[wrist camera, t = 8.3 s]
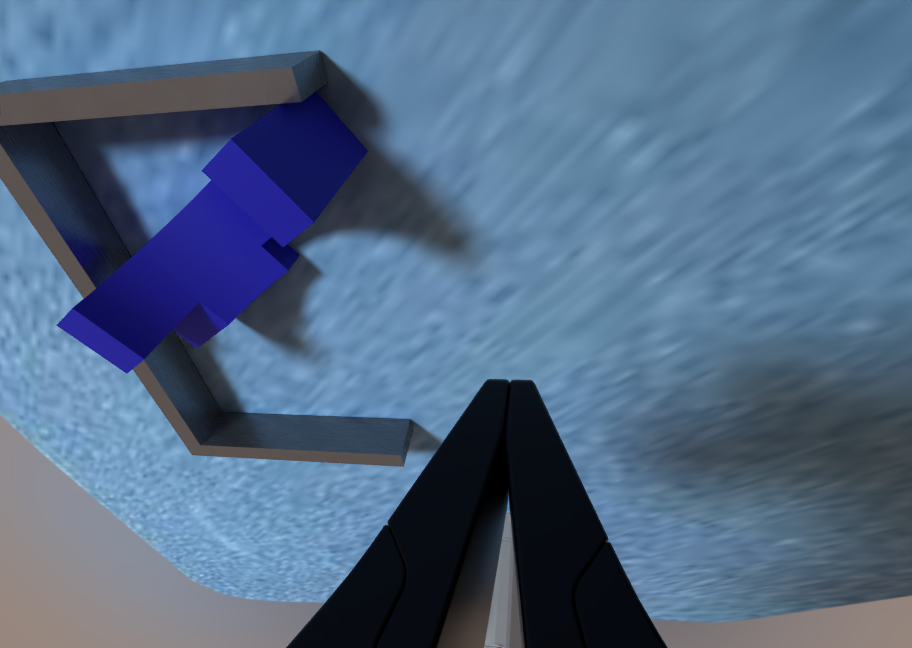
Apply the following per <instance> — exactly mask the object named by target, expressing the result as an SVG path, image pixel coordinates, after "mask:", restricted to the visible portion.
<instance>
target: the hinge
mask: <svg viewBox="0 0 912 648" xmlns="http://www.w3.org/2000/svg"><path fill="white" fill-rule="evenodd" d="M484 648H522V645H521V633H520V621H519V610H518V598H517V587H516V575H515V563H514V552H513V540H512V529H511V517H510V514H509V513H506V518H505V524H504V530H503V536H502V542H501V548H500V554H499V560H498V566H497V572H496V578H495V584H494V590H493V597H492V603H491V609H490V615H489V621H488V627H487V633H486V639H485V645H484Z"/></svg>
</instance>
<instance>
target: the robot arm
mask: <svg viewBox="0 0 912 648" xmlns="http://www.w3.org/2000/svg"><path fill="white" fill-rule="evenodd" d="M508 495H509V504H510V517H511V529H512V540H513V552H514V563H515V575H516V587H517V598H518V610H519V621H520V633H521V645H522V648H667V646H666V644H665V643H664V641H663V640H662V638H661V636H660V635H659V633H658V631H657V629H656V628H655V626H654V624H653V623H652V621H651V619H650V617H649V616H648V614H647V612H646V611H645V609H644V607H643V605H642V604H641V602H640V600H639V599H638V597H637V595H636V593H635V591H634V589H633V587H632V585H631V583H630V581H629V579H628V577H627V575H626V573H625V571H624V569H623V567H622V565H621V563H620V561H619V559H618V557H617V555H616V553H615V551H614V549H613V547H612V545H611V543H610V542H608V537H607V535H606V532H605V530H604V528H603V526H602V524H601V522H600V520H599V518H598V516H597V514H596V511H595V509H594V507H593V505H592V503H591V501H590V499H589V497H588V495H587V492H586V490H585V488H584V486H583V484H582V482H581V480H580V478H579V476H578V474H577V471H576V469H575V467H574V465H573V463H572V461H571V459H570V457H569V455H568V453H567V450H566V448H565V446H564V444H563V442H562V440H561V438H560V436H559V434H558V431H557V429H556V427H555V425H554V423H553V421H552V419H551V417H550V415H549V413H548V410H547V408H546V406H545V404H544V402H543V400H542V398H541V396H540V394H539V392H538V389H537V387H536V385H535V383H534V382H533V381H532V380H512V381H511V382H509V381H508V380H506V379H489V380H487V381H486V382H485V383H484V384H483V386H482V387H481V388H480V390H479V391H478V393H477V394H476V396H475V397H474V399H473V400H472V401H471V403H470V404H469V406H468V407H467V409H466V410H465V411H464V413H463V414H462V416H461V417H460V419H459V420H458V421H457V423H456V424H455V426H454V427H453V429H452V430H451V431H450V433H449V434H448V436H447V437H446V439H445V440H444V441H443V443H442V444H441V446H440V447H439V449H438V450H437V451H436V453H435V454H434V456H433V457H432V459H431V460H430V461H429V463H428V464H427V466H426V467H425V469H424V470H423V471H422V473H421V474H420V476H419V477H418V479H417V480H416V481H415V483H414V484H413V486H412V487H411V489H410V490H409V492H408V493H407V494H406V496H405V497H404V499H403V500H402V502H401V503H400V504H399V506H398V507H397V509H396V510H395V512H394V513H393V514H392V516H391V517H390V519H389V520H388V525H385V526H384V527H383V528H382V530H381V531H380V533H379V534H378V536H377V537H376V538H375V540H374V541H373V543H372V544H371V546H370V547H369V548H368V550H367V551H366V552H365V554H364V555H363V556H362V558H361V559H360V560H359V562H358V563H357V564H356V566H355V567H354V568H353V570H352V571H351V572H350V574H349V575H348V576H347V577H346V578H345V580H344V581H343V582H342V583H341V584H340V586H339V587H338V588H337V589H336V590H335V592H334V593H333V594H332V595H331V596H330V598H329V599H328V600H327V601H326V602H325V604H324V605H323V606H322V607H321V608H320V609H319V611H318V612H317V613H316V614H315V615H314V616H313V617H312V618H311V620H310V621H309V622H308V623H307V624H306V625H305V627H304V628H303V629H302V630H301V631H300V632H299V634H298V635H297V636H296V637H295V638H294V639H293V640H292V642H291V643H290V644H289V645H288V646H287V647H286V648H484V645H485V639H486V633H487V627H488V621H489V615H490V609H491V603H492V597H493V590H494V584H495V578H496V572H497V566H498V560H499V554H500V548H501V542H502V536H503V530H504V524H505V518H506V512H507V504H508Z"/></svg>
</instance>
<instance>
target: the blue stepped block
mask: <svg viewBox="0 0 912 648" xmlns="http://www.w3.org/2000/svg"><path fill="white" fill-rule="evenodd" d="M367 152H368V151H367V150H366V149H365V147H364V146H363V145H362V144H361V143H360V142H359V140H358V139H357V138H356V137H355V136H354V135H353V134H352V132H351V131H350V130H349V129H348V128H347V127H346V125H345V124H344V123H343V122H342V121H341V120H340V118H339V117H338V116H337V115H336V114H335V113H334V111H333V110H332V109H331V108H330V107H329V106H328V105H327V103H326V102H325V101H324V100H323V99H322V98H321V96H320V95H319V94H318V93H317V92H316V91H315V92H314V93H313V94H311V95H310V96H309V97H307V98H306V99H305V100H303V101H302V102H295V103H282V104H280V105H279V106H277V107H276V108H274V109H273V110H271V111H270V112H269V113H267V114H266V115H264V116H263V117H262V118H260V119H259V120H257V121H256V122H255V123H253V124H252V125H250V126H249V127H247V128H246V129H245V130H243V131H242V132H240V133H239V134H238V135H236V136H235V137H233V138H232V139H231V140H230V141H229V142H228V143H227V144H226V145H225V146H224V147H223V148H222V149H221V150H220V151H219V152H218V154H217V155H216V156H215V157H214V158H213V159H212V160H211V161H210V162H209V163H208V164H207V165H206V166H205V167H204V168H203V170H202V172H204V173H205V174H206V175H207V176H208V177H209V178H210V179H211V181H210V182H209V183H208V184H207V185H206V186H205V187H204V188H203V189H202V190H201V191H200V193H199V194H198V195H197V196H196V197H195V198H194V199H193V200H192V201H191V202H190V203H189V204H188V205H187V206H186V207H185V208H184V209H183V210H181V211H180V212H179V213H178V214H177V215H176V216H175V217H174V218H173V219H172V220H171V221H170V222H169V223H168V224H167V225H166V226H165V227H164V228H163V229H162V230H161V231H160V232H158V233H157V234H156V235H155V236H154V237H153V238H152V239H151V240H150V241H149V242H148V243H147V244H145V245H144V246H143V247H142V248H141V249H140V250H139V251H138V252H137V253H136V254H135V255H133V256H132V257H131V258H130V259H129V260H128V261H127V262H126V263H125V264H123V265H122V266H121V267H120V268H119V269H118V270H117V271H115V272H114V273H113V274H112V275H111V276H110V277H109V278H108V279H106V280H105V281H104V282H103V283H102V284H101V285H99V286H98V287H97V288H96V289H95V290H94V291H92V292H91V293H90V294H89V295H88V296H87V297H85V298H84V299H83V300H82V301H81V302H79V303H78V304H77V305H76V306H75V307H73V308H72V309H71V310H70V312H69V313H68V314H67V315H66V316H65V317H64V318H63V319H62V320H61V321H60V322H59V323H58V324H57V326H58V327H60V328H61V329H63V330H64V331H66V332H67V333H68V334H70V335H71V336H73V337H74V338H76V339H77V340H79V341H80V342H82V343H83V344H84V345H86V346H87V347H89V348H90V349H92V350H93V351H95V352H96V353H98V354H99V355H101V356H102V357H103V358H105V359H106V360H108V361H109V362H111V363H112V364H114V365H115V366H117V367H118V368H119V369H121V370H122V371H124V372H125V373H128V372H130V371H131V370H132V369H133V368H135V367H136V366H137V365H138V364H140V363H141V362H142V361H143V360H144V359H145V358H146V357H147V356H148V355H149V354H150V353H151V352H152V351H153V350H154V349H155V348H156V346H157V345H158V344H159V343H160V342H161V341H162V340H163V339H164V338H165V337H166V336H167V335H168V334H169V333H170V332H171V331H172V330H173V331H175V332H176V333H177V334H179V335H180V336H181V337H183V338H184V339H185V340H187V341H188V342H189V343H191V344H192V345H193V346H195V347H196V348H198V347H200V346H201V345H202V344H204V343H205V342H206V341H208V340H209V339H210V338H212V337H213V336H214V335H216V334H217V333H218V332H220V331H221V330H222V329H224V328H225V327H226V326H228V325H229V324H230V323H231V322H232V321H233V320H234V319H235V318H236V317H237V316H238V315H239V314H240V313H241V312H242V311H243V310H244V309H245V308H246V307H247V306H248V305H249V304H250V303H251V302H252V301H254V300H255V299H256V298H257V297H258V296H259V295H260V294H261V293H262V292H263V291H265V290H266V289H267V288H268V287H269V286H270V285H272V284H273V283H274V282H275V281H276V280H277V279H279V278H280V277H281V276H282V275H284V274H285V273H286V272H287V271H289V269H290V268H291V266H292V265H293V264H294V262H295V261H296V260H297V258H298V257H299V254H298V253H297V252H296V251H295V250H294V249H293V248H292V247H291V246H289V245H288V243H289V242H290V241H291V240H293V239H294V238H295V237H296V236H298V235H299V234H300V233H301V232H303V231H304V230H305V229H306V228H308V227H309V226H310V225H311V224H312V223H314V222H315V220H316V219H317V218H318V216H319V215H320V214H321V212H322V211H323V210H324V208H325V207H326V206H327V204H328V203H329V202H330V200H331V199H332V198H333V196H334V195H335V194H336V193H337V191H338V190H339V189H340V187H341V186H342V185H343V183H344V182H345V181H346V179H347V178H348V177H349V175H350V174H351V173H352V171H353V170H354V169H355V167H356V166H357V165H358V164H359V162H360V161H361V160H362V158H363V157H364V156H365V154H366V153H367Z"/></svg>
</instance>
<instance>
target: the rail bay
mask: <svg viewBox="0 0 912 648" xmlns="http://www.w3.org/2000/svg"><path fill="white" fill-rule="evenodd" d="M327 82H328V81H327V77H326V72H325V68H324V64H323V60H322V56H321V52H320V51H310V52H299V53H289V54H279V55H269V56H258V57H248V58H238V59H228V60H217V61H207V62H197V63H187V64H177V65H166V66H156V67H146V68H136V69H125V70H115V71H105V72H95V73H84V74H74V75H64V76H54V77H43V78H33V79H23V80H13V81H4V82H1V83H0V178H1V180H2V181H3V183H4V184H5V186H6V187H7V188H8V190H9V191H10V193H11V194H12V196H13V197H14V199H15V200H16V201H17V203H18V204H19V206H20V207H21V209H22V210H23V212H24V213H25V214H26V216H27V217H28V219H29V220H30V222H31V223H32V225H33V226H34V227H35V229H36V230H37V232H38V233H39V235H40V236H41V238H42V239H43V240H44V242H45V243H46V245H47V246H48V248H49V249H50V251H51V252H52V253H53V255H54V256H55V258H56V259H57V261H58V262H59V264H60V265H61V266H62V268H63V269H64V271H65V272H66V274H67V275H68V276H69V278H70V279H71V281H72V282H73V284H74V285H75V287H76V288H77V289H78V291H79V292H80V294H81V295H82V297H83V298H85V297H87V296H88V295H89V294H90V293H91V292H92V291H94V290H95V289H96V288H97V287H98V286H99V285H101V284H102V283H103V282H104V281H105V280H106V279H108V278H109V277H110V276H111V275H112V274H113V273H114V272H115V271H117V270H118V269H119V268H120V267H121V266H122V265H123V264H125V263H126V262H127V261H128V260H129V259H130V258H131V256H130V255H129V253H128V251H127V250H126V248H125V246H124V244H123V243H122V241H121V239H120V238H119V236H118V234H117V232H116V231H115V229H114V227H113V226H112V224H111V222H110V220H109V219H108V217H107V215H106V214H105V212H104V210H103V209H102V207H101V205H100V203H99V202H98V200H97V198H96V197H95V195H94V193H93V191H92V190H91V188H90V186H89V185H88V183H87V181H86V179H85V178H84V176H83V174H82V173H81V171H80V169H79V167H78V166H77V164H76V162H75V161H74V159H73V157H72V156H71V154H70V152H69V150H68V149H67V147H66V145H65V144H64V142H63V140H62V138H61V137H60V135H59V133H58V132H57V130H56V128H55V126H54V125H53V123H52V122H55V121H67V120H80V119H93V118H105V117H118V116H131V115H143V114H156V113H168V112H181V111H194V110H206V109H219V108H232V107H244V106H257V105H269V104H282V103H295V102H302V101H303V100H305V99H306V98H307V97H309V96H310V95H311V94H313V93H314V92H315V91H317V90H318V89H319V88H321V87H322V86H323V85H325V84H326V83H327ZM133 370H134V372H135V373H136V375H137V376H138V377H139V379H140V380H141V382H142V383H143V385H144V386H145V388H146V389H147V390H148V392H149V393H150V395H151V396H152V398H153V399H154V401H155V402H156V403H157V405H158V406H159V408H160V409H161V411H162V412H163V414H164V415H165V416H166V418H167V419H168V421H169V422H170V424H171V425H172V427H173V428H174V429H175V431H176V432H177V434H178V435H179V437H180V438H181V440H182V441H183V442H184V444H185V445H186V447H187V448H188V450H189V451H190V453H191V454H192V455H200V456H218V457H237V458H255V459H273V460H292V461H310V462H328V463H347V464H365V465H383V466H402V467H404V463H405V460H406V456H407V452H408V448H409V444H410V440H411V436H412V432H413V429H412V425H411V421H410V419H385V418H358V417H332V416H305V415H279V414H252V413H225V412H221V410H220V408H219V407H218V405H217V403H216V402H215V400H214V398H213V397H212V395H211V393H210V391H209V390H208V388H207V386H206V385H205V383H204V381H203V379H202V378H201V376H200V374H199V373H198V371H197V369H196V367H195V366H194V364H193V362H192V361H191V359H190V357H189V355H188V354H187V352H186V350H185V349H184V347H183V345H182V344H181V342H180V340H179V338H178V337H177V335H176V333H175V332H174V331H173V330H172V331H171V332H170V333H169V334H168V335H167V336H166V337H165V338H164V339H163V340H162V341H161V342H160V343H159V344H158V345H157V346H156V348H155V349H154V350H153V351H152V352H151V353H150V354H149V355H148V356H147V357H146V358H145V359H144V360H143V361H142V362H141V363H140V364H138V365H137V366H136V367H135V368H133Z"/></svg>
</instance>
